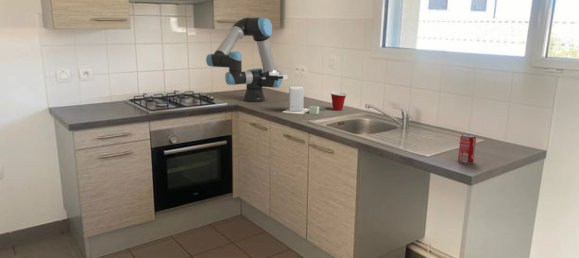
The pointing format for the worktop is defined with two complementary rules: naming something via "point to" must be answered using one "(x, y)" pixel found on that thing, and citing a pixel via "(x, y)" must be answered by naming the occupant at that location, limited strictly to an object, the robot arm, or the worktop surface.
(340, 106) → the plastic cup
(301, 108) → the supplement box
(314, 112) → the button
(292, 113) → the sketch pad
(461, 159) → the soda can
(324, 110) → the button track
